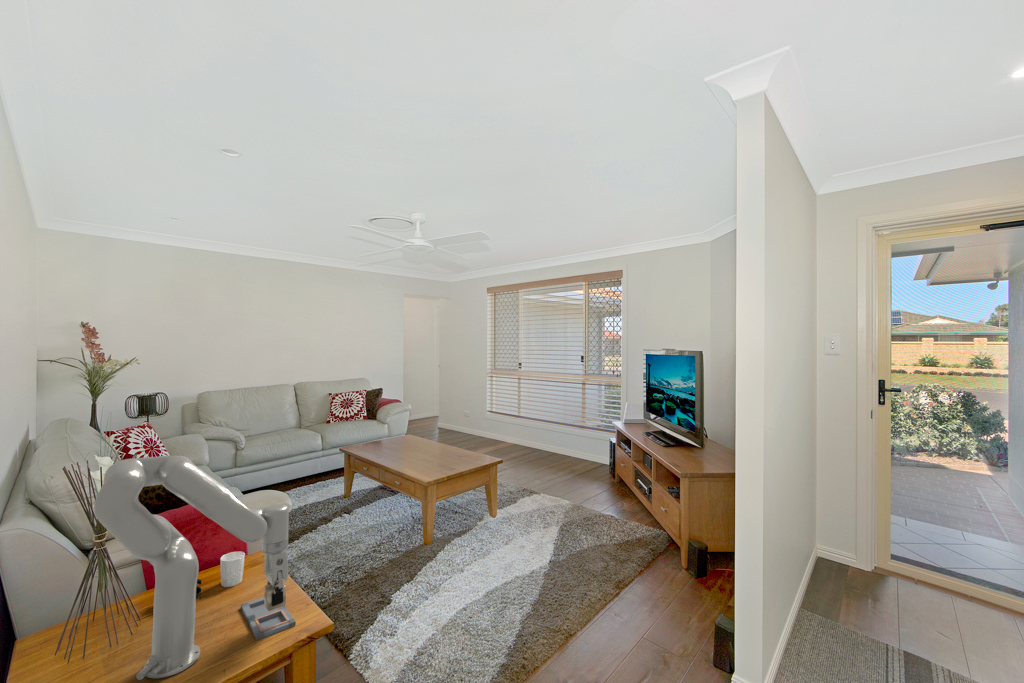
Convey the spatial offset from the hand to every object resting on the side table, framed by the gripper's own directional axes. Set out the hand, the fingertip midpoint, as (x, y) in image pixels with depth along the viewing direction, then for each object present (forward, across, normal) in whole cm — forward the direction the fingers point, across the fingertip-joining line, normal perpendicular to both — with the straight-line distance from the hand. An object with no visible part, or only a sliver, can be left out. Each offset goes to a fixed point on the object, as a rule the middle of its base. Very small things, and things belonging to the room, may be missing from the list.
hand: (274, 599), depth 140 cm
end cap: (+8, +37, +21) cm, 43 cm away
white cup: (+8, +38, +5) cm, 39 cm away
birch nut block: (+2, 0, 0) cm, 2 cm away
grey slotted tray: (+8, +6, +1) cm, 10 cm away
